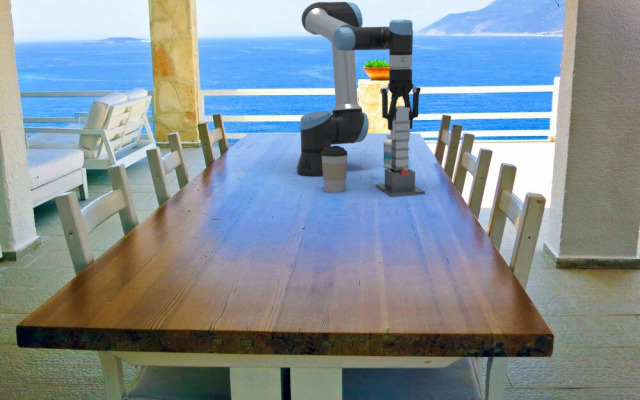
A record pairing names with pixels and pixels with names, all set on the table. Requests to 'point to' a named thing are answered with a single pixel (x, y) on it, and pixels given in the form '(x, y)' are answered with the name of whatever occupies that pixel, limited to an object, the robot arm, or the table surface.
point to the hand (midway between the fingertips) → (400, 139)
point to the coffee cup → (334, 168)
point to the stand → (400, 183)
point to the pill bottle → (387, 152)
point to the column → (400, 139)
